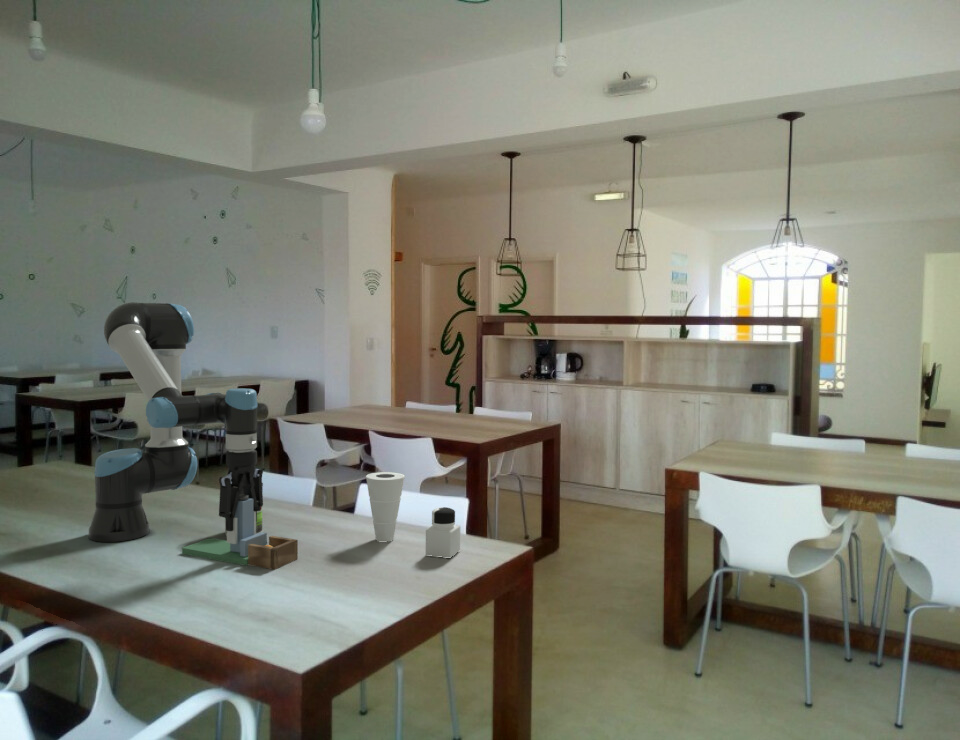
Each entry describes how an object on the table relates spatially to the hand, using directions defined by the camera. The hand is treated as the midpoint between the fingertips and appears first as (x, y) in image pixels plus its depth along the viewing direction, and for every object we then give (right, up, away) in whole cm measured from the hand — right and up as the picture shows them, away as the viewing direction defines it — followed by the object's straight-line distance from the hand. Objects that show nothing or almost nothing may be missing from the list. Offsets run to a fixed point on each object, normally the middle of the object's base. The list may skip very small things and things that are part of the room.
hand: (241, 539), depth 187 cm
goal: (+9, -5, -4) cm, 11 cm away
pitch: (-4, -4, +2) cm, 6 cm away
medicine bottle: (+51, -5, +6) cm, 52 cm away
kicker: (+1, -3, 0) cm, 3 cm away
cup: (+34, -4, +17) cm, 39 cm away
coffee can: (-6, -3, +21) cm, 23 cm away
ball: (+7, -3, -3) cm, 8 cm away
